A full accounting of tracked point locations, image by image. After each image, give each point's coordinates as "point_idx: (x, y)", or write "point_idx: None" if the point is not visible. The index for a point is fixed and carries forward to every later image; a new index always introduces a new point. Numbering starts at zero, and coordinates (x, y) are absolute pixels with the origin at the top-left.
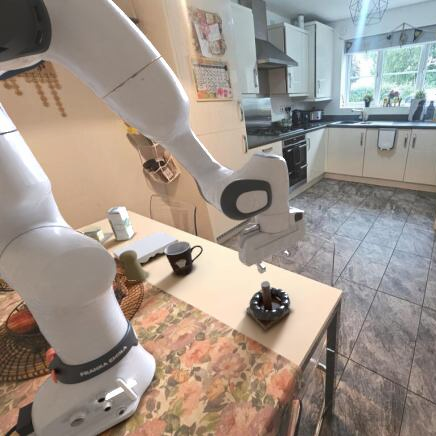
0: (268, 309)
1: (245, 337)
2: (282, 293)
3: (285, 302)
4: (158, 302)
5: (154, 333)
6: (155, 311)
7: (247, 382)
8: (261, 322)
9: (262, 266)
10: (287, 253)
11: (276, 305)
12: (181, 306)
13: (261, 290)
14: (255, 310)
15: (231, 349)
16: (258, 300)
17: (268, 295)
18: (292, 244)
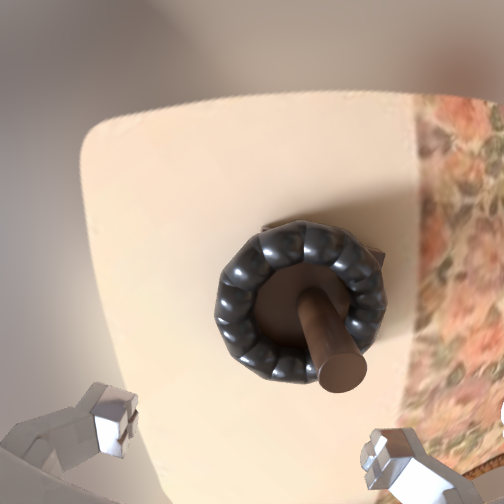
0: (326, 294)
1: (423, 284)
2: (240, 295)
3: (280, 248)
4: None
5: (467, 438)
6: None
7: (498, 187)
8: None
9: (398, 468)
10: (118, 433)
11: (282, 285)
12: None
13: (279, 376)
14: (378, 322)
15: (462, 287)
16: None
17: (338, 323)
18: (35, 471)
